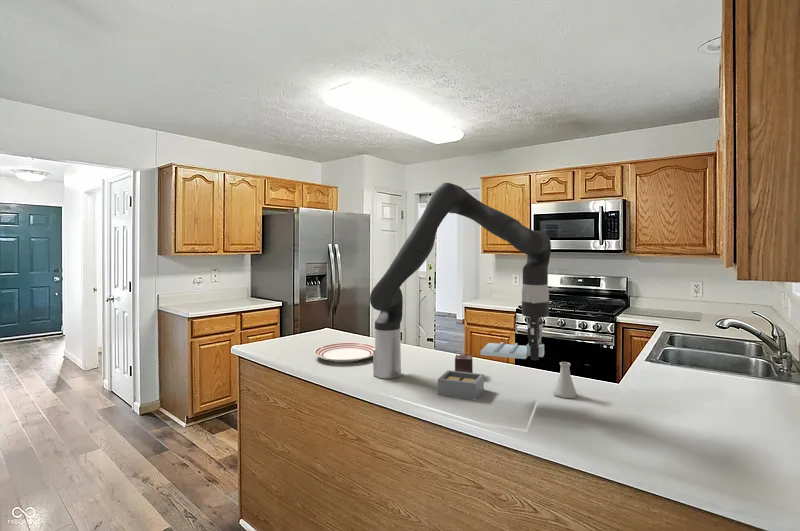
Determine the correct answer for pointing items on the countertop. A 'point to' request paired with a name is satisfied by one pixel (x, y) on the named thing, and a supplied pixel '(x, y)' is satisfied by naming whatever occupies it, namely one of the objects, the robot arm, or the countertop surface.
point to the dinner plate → (345, 351)
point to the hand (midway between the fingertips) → (535, 357)
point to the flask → (565, 383)
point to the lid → (509, 350)
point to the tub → (461, 385)
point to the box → (464, 363)
